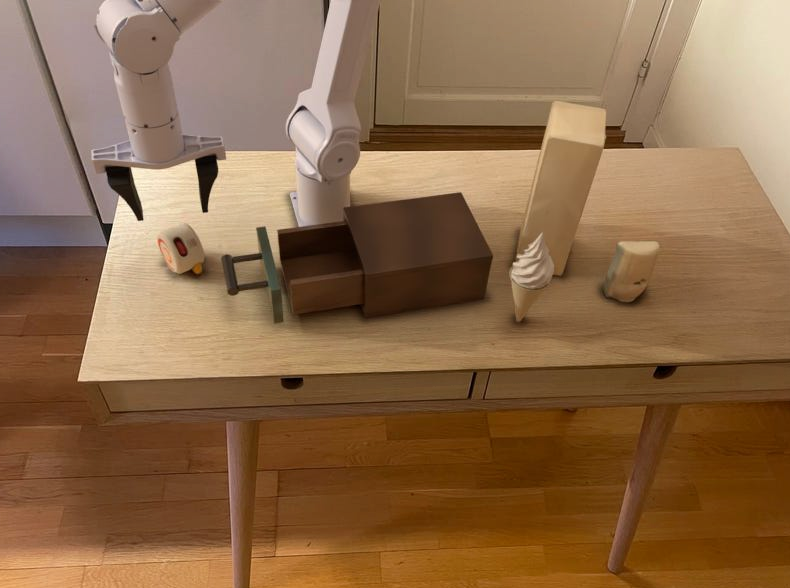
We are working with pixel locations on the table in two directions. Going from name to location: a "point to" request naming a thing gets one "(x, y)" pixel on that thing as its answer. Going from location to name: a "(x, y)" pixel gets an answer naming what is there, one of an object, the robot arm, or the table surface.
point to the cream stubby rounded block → (630, 269)
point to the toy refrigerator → (563, 178)
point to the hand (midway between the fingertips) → (172, 211)
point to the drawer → (305, 269)
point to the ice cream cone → (530, 276)
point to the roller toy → (181, 249)
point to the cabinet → (419, 253)
